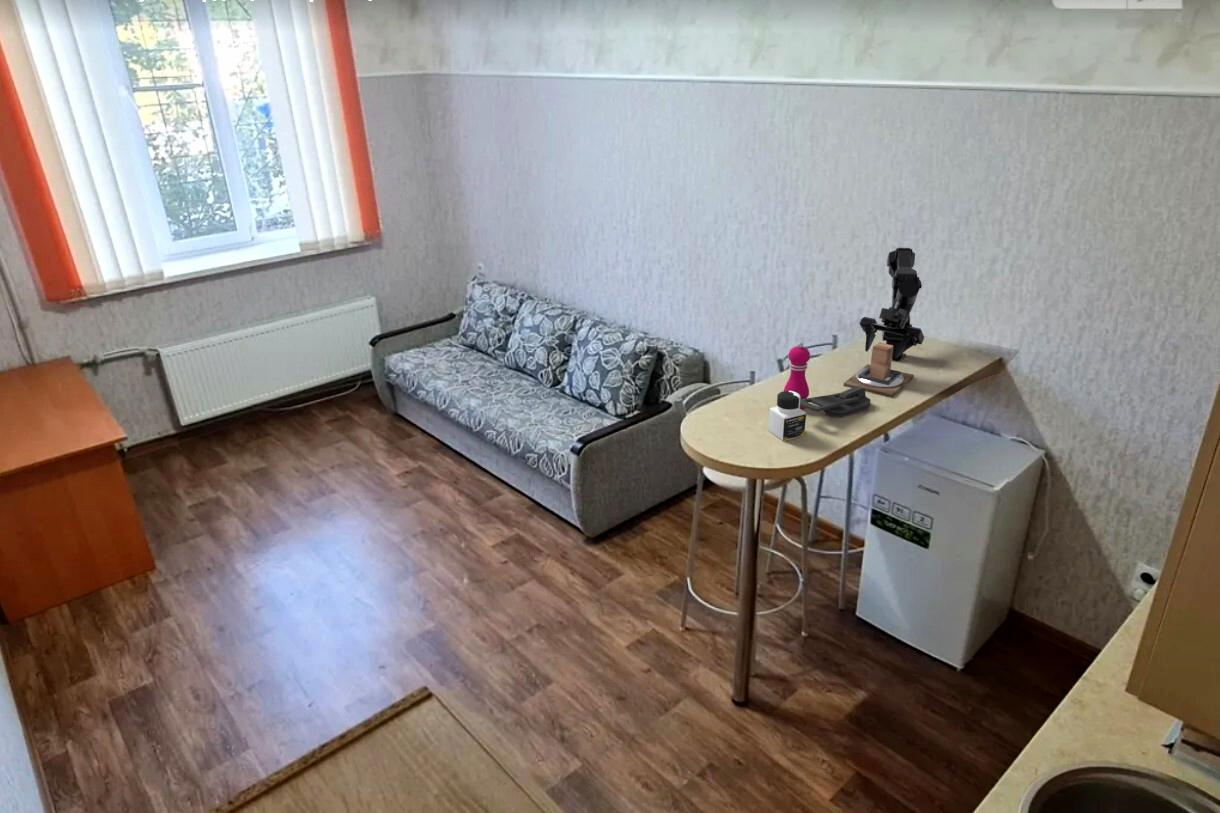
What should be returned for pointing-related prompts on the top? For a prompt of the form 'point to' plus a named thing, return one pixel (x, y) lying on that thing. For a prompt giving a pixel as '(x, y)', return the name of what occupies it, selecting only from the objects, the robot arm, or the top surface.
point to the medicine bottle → (787, 417)
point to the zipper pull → (839, 403)
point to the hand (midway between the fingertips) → (880, 354)
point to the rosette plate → (889, 382)
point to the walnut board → (880, 391)
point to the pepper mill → (798, 371)
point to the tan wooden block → (881, 361)
